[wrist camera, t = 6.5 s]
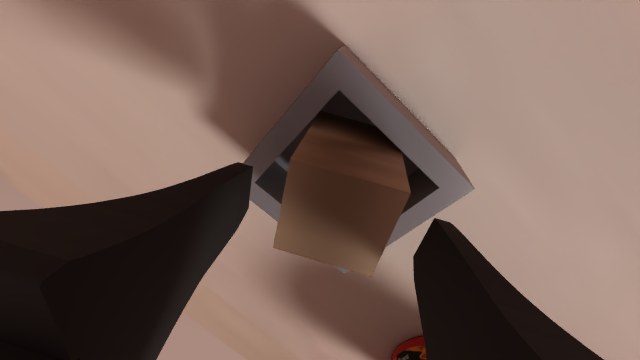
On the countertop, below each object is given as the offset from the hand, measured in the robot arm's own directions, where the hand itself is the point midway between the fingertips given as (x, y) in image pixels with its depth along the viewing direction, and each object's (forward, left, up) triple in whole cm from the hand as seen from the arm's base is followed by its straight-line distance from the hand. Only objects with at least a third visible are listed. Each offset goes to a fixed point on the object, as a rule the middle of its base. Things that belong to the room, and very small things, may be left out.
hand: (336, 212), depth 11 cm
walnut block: (0, 0, -5) cm, 5 cm away
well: (0, 0, -5) cm, 5 cm away
